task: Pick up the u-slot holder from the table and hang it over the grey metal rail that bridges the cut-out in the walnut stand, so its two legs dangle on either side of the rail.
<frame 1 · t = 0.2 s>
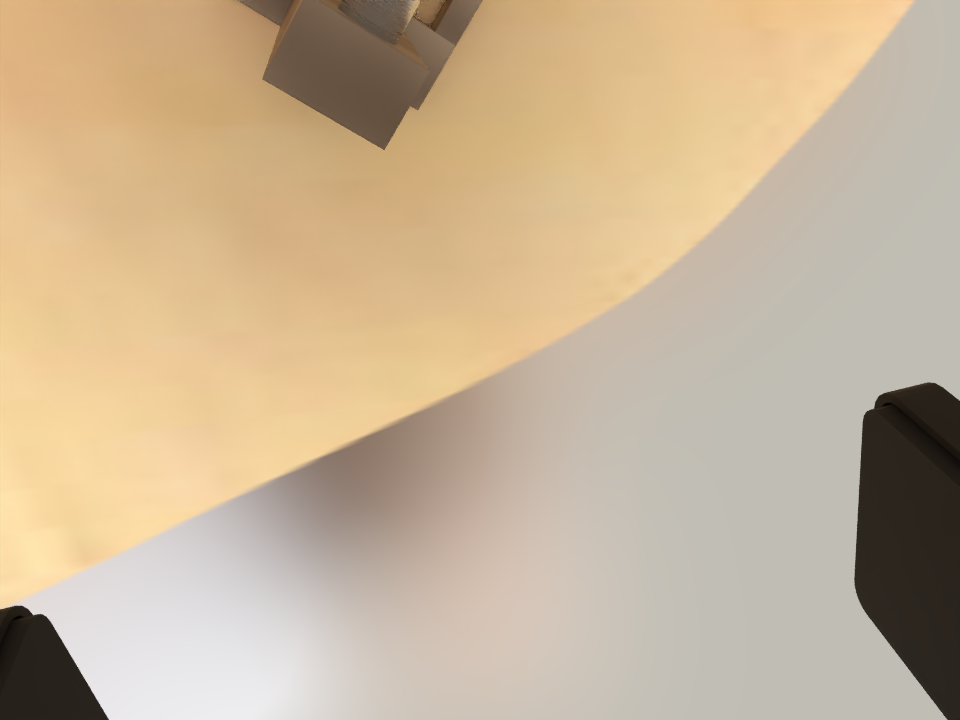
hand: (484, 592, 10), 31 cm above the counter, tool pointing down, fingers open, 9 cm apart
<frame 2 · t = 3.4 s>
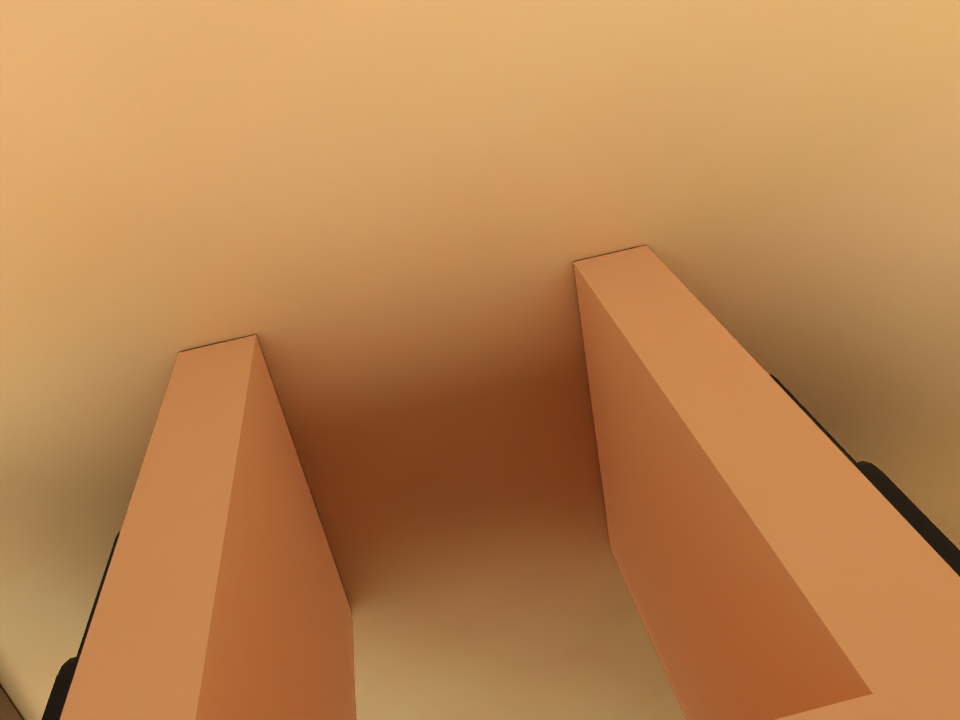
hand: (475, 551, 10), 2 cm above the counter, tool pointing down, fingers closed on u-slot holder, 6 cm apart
u-slot holder: (452, 453, 12), on the counter, touching gripper
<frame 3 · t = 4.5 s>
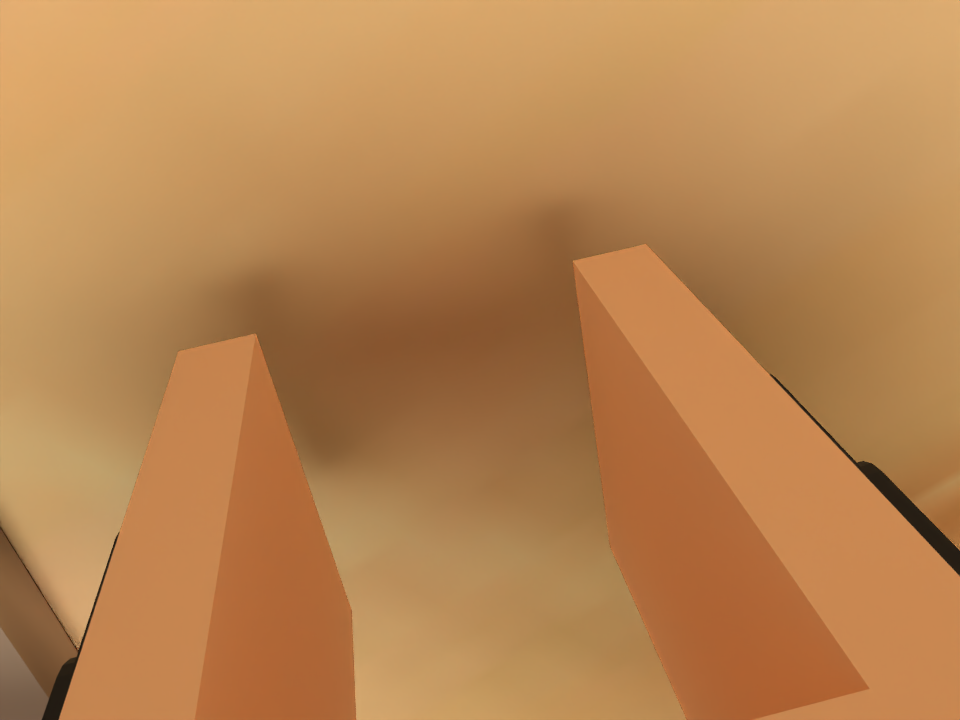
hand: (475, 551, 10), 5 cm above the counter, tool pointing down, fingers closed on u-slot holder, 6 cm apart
u-slot holder: (452, 451, 12), point 3 cm above the counter, touching gripper
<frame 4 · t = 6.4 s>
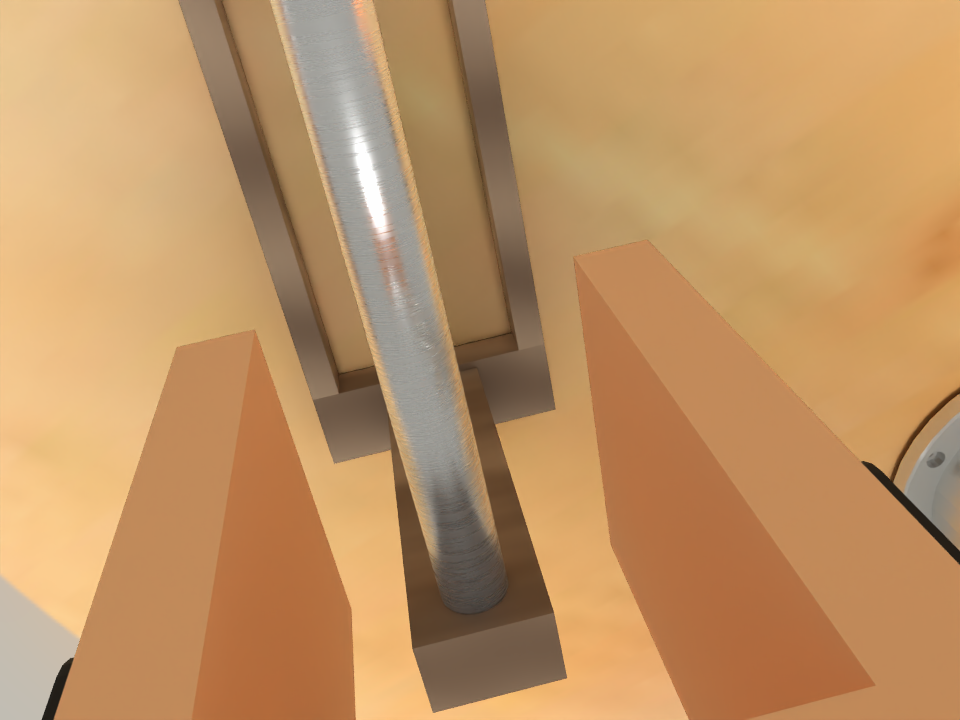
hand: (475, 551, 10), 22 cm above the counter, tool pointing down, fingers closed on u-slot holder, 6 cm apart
u-slot holder: (452, 448, 12), point 20 cm above the counter, touching gripper
rail: (396, 288, 18), point 12 cm above the counter
stand: (372, 142, 30), on the counter
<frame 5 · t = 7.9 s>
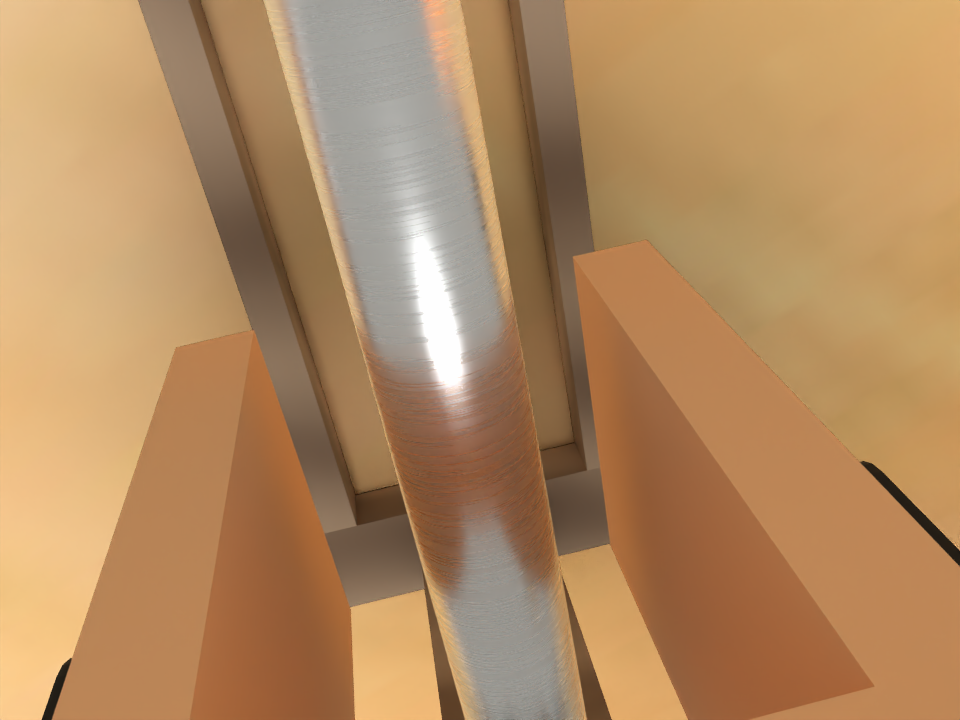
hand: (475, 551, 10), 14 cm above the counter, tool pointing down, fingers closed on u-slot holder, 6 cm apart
u-slot holder: (451, 449, 12), point 12 cm above the counter, touching gripper
rail: (481, 519, 11), point 12 cm above the counter
stand: (406, 211, 22), on the counter
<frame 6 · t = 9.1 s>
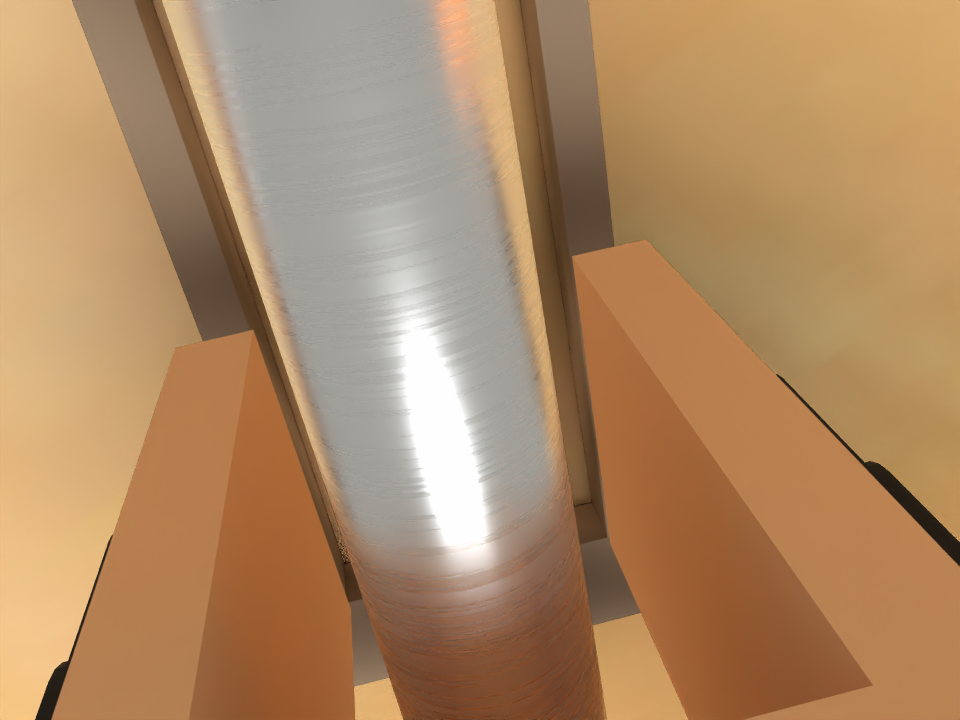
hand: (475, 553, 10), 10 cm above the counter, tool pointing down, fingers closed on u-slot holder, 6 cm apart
u-slot holder: (451, 448, 12), point 8 cm above the counter, touching gripper
stand: (401, 249, 19), on the counter
when the fingers open (10 cm above the counter, at t = 9.1 s): u-slot holder drops 1 cm, resting on rail.
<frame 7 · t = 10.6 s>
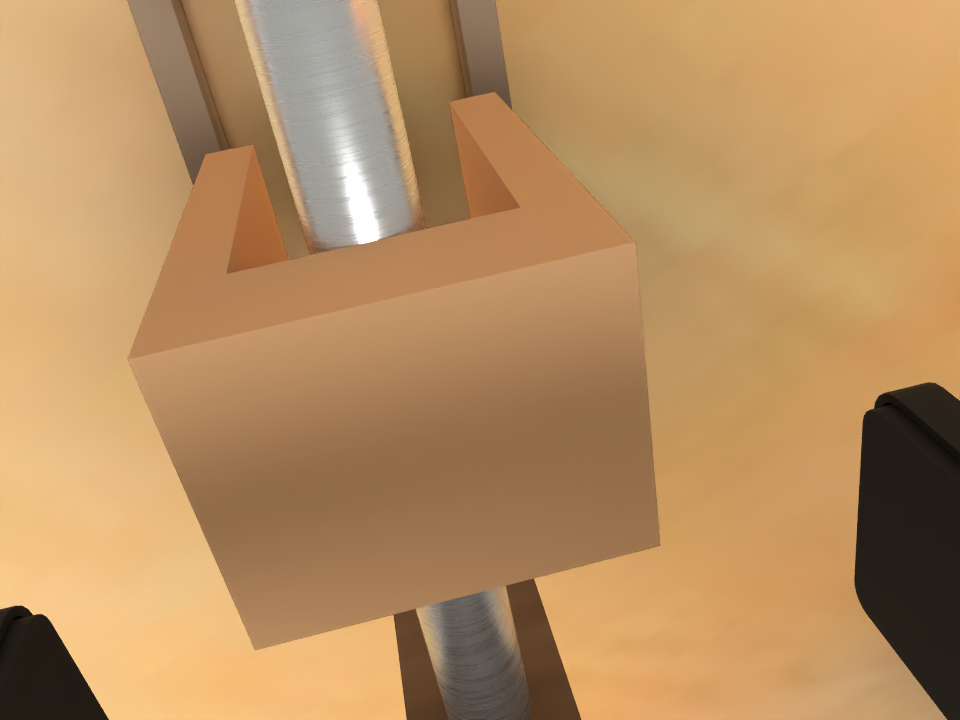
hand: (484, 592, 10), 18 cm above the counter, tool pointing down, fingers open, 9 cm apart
u-slot holder: (378, 232, 19), point 7 cm above the counter, touching rail
rail: (400, 364, 14), point 12 cm above the counter
stand: (356, 153, 25), on the counter
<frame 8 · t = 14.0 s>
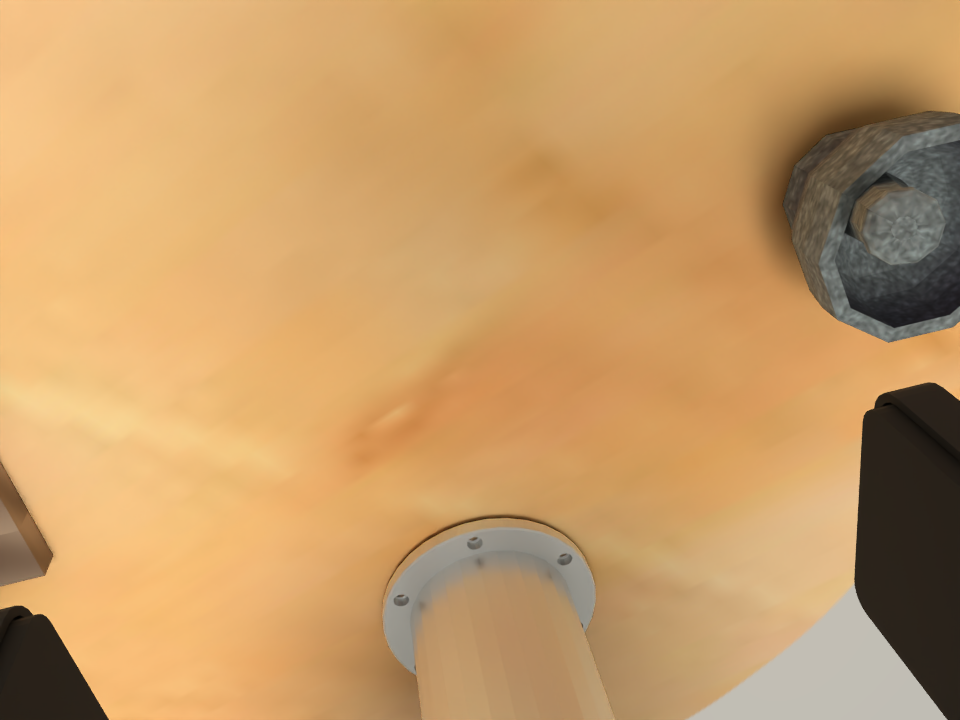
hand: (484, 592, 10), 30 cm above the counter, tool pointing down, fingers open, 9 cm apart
mortar and pestle: (830, 183, 42), on the counter
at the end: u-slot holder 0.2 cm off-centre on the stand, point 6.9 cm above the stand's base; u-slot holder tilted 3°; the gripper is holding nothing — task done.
